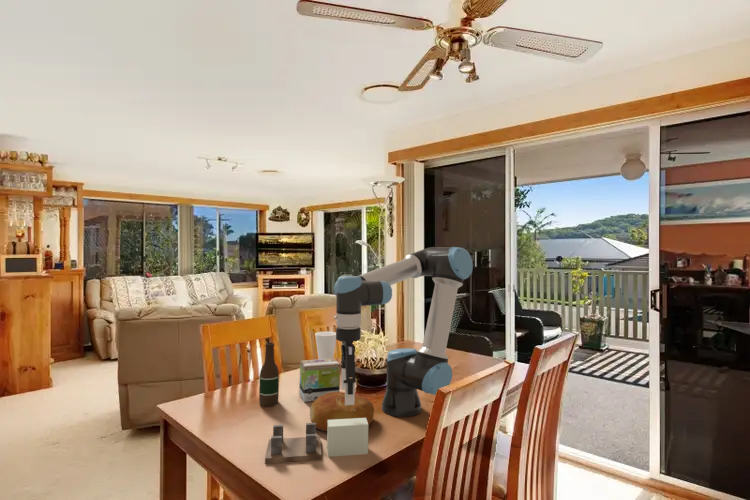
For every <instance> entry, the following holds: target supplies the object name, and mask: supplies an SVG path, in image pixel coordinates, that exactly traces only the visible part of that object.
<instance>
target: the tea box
mask: <svg viewBox="0 0 750 500" xmlns="http://www.w3.org/2000/svg"><path fill="white" fill-rule="evenodd" d="M299 363H300V364H299V386H298V387H299V390H298V393H299V396H300V398H301V400H302V401H303V403H307V402H314V401H315V400H316V399H317V398H318V397H320V396H322V395H324V394H326V393H330V392H340V390H341V386H340V385H341V381H340V380H341V378H340V377H341V363H339V361H338V360H336V358H334V357H333V358H330V359H318V358H317V359H307V360H306V359H305V360H300V362H299Z"/></svg>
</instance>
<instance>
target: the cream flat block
mask: <svg viewBox="0 0 750 500" xmlns="http://www.w3.org/2000/svg"><path fill="white" fill-rule="evenodd" d="M326 433H327V435H326V436H327V437H326V438H327V439H326V449H327V450H326V452H327V457H328V458H329V457H345V456H358V455H361V456H362V455H369V426H368V422H367V419H366V418H352V419H334V420H328V422H327V431H326Z"/></svg>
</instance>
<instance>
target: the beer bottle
mask: <svg viewBox="0 0 750 500" xmlns="http://www.w3.org/2000/svg"><path fill="white" fill-rule="evenodd" d="M264 347H265V353H264V355H265V356H264V363H263V365H262V367H261V369H260V372H259V395H258V396H259V399H258V400H259V406H260V407H263V408H264V407H265V408H266V407H274V406H276V405H278V404H279V397H280V396H279V385H280V382H279V381H280V379H279V377H280V376H279V375H280V373H279V372H280V371H279V367H278V365H277V363H276V362H275V349H274V347H275V343H274V342H266V343H265V345H264Z"/></svg>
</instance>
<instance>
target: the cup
mask: <svg viewBox="0 0 750 500" xmlns="http://www.w3.org/2000/svg"><path fill="white" fill-rule="evenodd" d="M314 336H315V343H316V351H317V357H318V358H317V359H330V358H334V356H335V355H334V354H335V349H336V343H337V339H336V331H317V332H315V334H314Z"/></svg>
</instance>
